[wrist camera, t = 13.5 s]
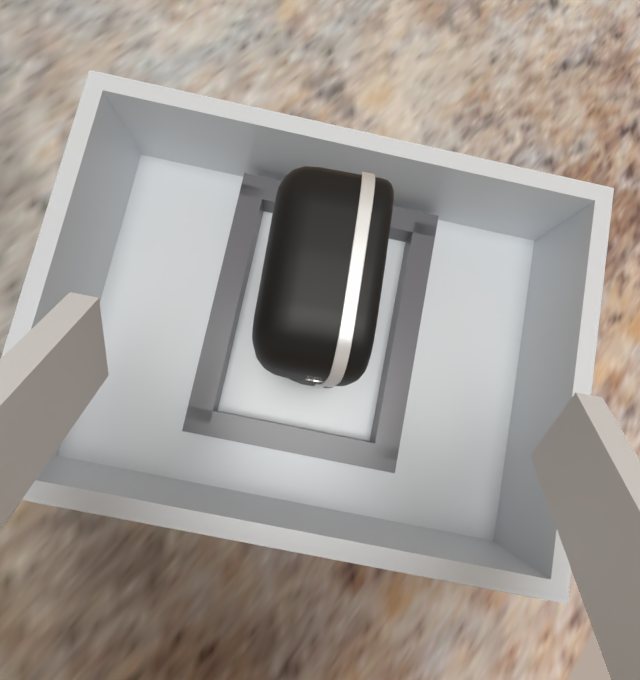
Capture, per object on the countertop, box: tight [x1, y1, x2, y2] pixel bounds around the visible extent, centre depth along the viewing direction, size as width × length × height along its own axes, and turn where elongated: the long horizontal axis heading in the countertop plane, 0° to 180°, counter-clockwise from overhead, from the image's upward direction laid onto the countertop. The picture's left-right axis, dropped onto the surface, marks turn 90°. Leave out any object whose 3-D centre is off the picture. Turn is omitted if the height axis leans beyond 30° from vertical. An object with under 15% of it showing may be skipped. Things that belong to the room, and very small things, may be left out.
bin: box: [1, 70, 614, 604], centre depth 22 cm, size 24×18×6 cm
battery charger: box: [252, 166, 394, 389], centre depth 19 cm, size 7×4×11 cm, turn 171°
